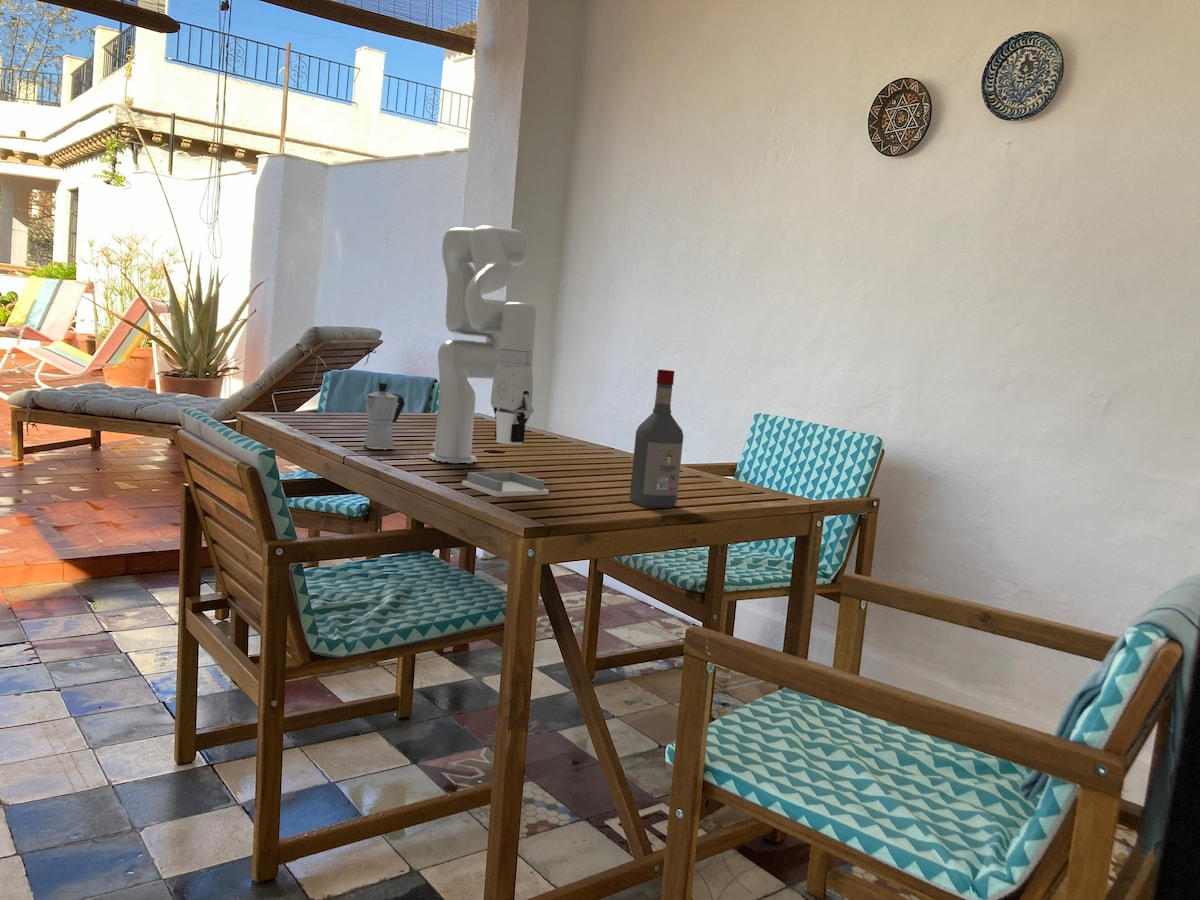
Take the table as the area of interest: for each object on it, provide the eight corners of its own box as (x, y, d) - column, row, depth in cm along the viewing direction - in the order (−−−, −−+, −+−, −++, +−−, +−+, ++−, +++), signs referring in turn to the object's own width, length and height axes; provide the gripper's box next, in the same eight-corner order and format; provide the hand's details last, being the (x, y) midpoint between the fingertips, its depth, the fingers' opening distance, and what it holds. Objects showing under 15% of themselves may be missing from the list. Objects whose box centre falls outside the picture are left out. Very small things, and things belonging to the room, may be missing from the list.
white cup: (487, 441, 209) (489, 409, 209) (511, 440, 214) (513, 410, 213) (507, 445, 205) (509, 413, 204) (530, 444, 209) (533, 413, 209)
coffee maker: (373, 451, 251) (377, 384, 249) (350, 446, 255) (354, 380, 253) (412, 448, 263) (416, 384, 261) (389, 444, 268) (393, 381, 266)
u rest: (461, 485, 212) (462, 471, 211) (513, 483, 221) (514, 470, 220) (495, 496, 201) (496, 483, 201) (548, 494, 210) (549, 481, 210)
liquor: (681, 508, 208) (695, 373, 205) (646, 508, 204) (660, 370, 200) (658, 499, 216) (671, 369, 213) (624, 500, 212) (637, 367, 208)
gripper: (480, 355, 211) (474, 434, 213) (523, 360, 198) (517, 445, 200) (508, 357, 216) (501, 435, 218) (552, 362, 203) (545, 445, 205)
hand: (509, 439), depth 209 cm, fingers closed on white cup, 5 cm apart
